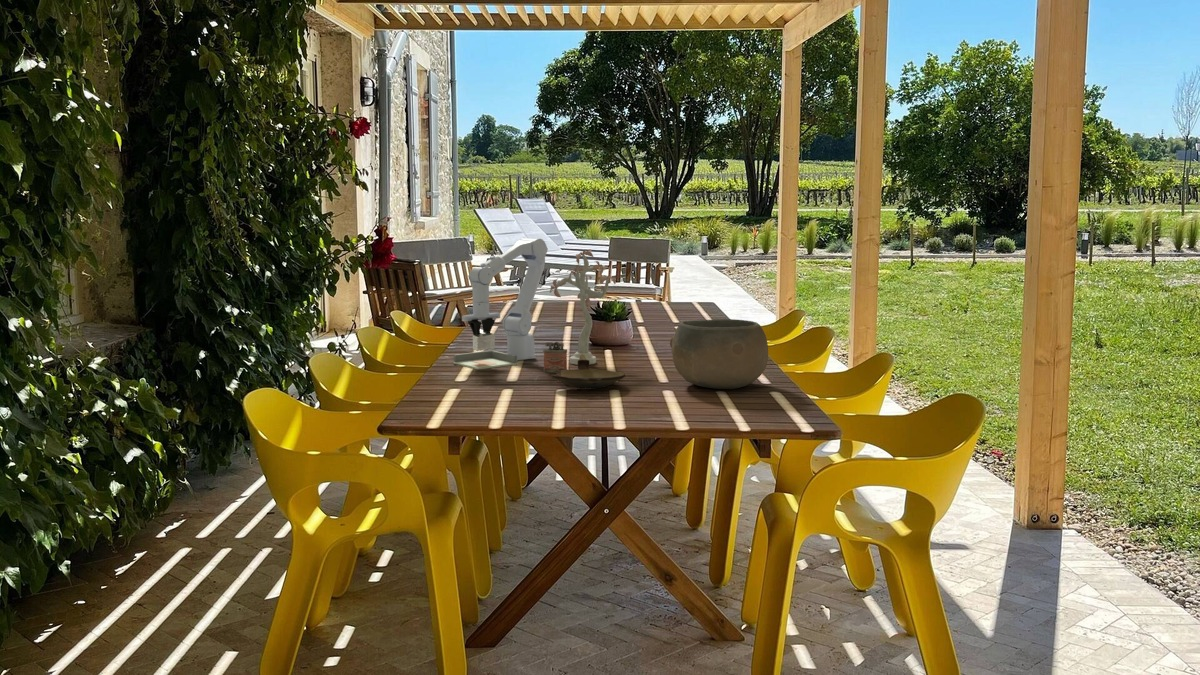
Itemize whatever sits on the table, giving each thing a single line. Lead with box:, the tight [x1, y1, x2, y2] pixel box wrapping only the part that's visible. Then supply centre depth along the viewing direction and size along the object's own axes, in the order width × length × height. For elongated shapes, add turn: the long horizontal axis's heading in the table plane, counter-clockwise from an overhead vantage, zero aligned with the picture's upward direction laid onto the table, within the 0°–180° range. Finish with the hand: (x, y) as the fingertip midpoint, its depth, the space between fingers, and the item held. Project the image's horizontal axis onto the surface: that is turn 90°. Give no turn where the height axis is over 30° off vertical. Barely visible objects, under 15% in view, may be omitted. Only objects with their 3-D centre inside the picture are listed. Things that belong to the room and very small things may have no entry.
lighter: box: [542, 341, 568, 373], centre depth 333 cm, size 8×3×10 cm, turn 84°
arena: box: [453, 349, 518, 370], centre depth 349 cm, size 16×16×3 cm
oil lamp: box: [551, 354, 626, 390], centre depth 307 cm, size 22×30×8 cm
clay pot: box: [669, 318, 769, 390], centre depth 305 cm, size 30×30×20 cm
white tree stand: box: [549, 249, 617, 366], centre depth 350 cm, size 28×24×40 cm
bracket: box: [472, 328, 496, 352], centre depth 345 cm, size 9×7×5 cm
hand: (481, 340), depth 348 cm, fingers closed on bracket, 3 cm apart
